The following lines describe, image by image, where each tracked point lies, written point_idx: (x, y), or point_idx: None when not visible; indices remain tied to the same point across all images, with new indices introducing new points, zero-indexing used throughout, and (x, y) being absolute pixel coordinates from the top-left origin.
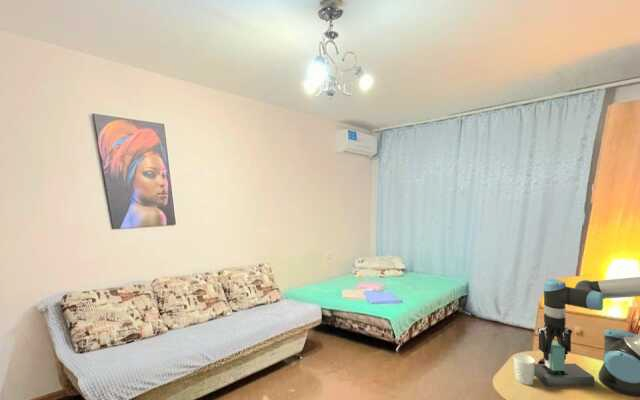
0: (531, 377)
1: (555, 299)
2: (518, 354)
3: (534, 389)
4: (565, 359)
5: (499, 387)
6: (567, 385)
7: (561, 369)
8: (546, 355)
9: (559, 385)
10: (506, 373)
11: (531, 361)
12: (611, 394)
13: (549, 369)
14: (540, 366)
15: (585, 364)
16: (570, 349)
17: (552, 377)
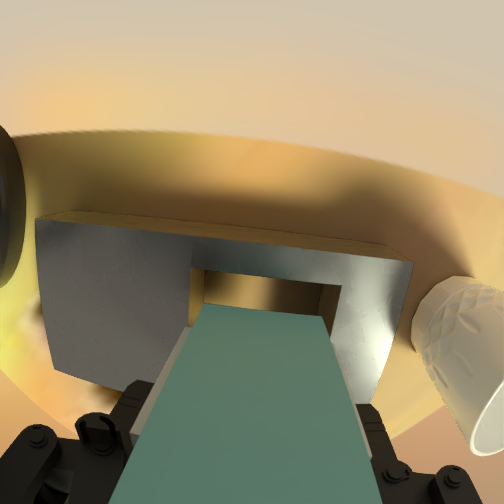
0: (481, 288)
1: None
2: (497, 446)
3: (467, 233)
4: (133, 382)
5: None
6: (237, 227)
7: (234, 312)
8: (381, 446)
9: (299, 234)
10: None
11: (467, 396)
12: (52, 132)
13: None
14: None
15: (16, 367)
16: (17, 444)
17: (368, 257)
